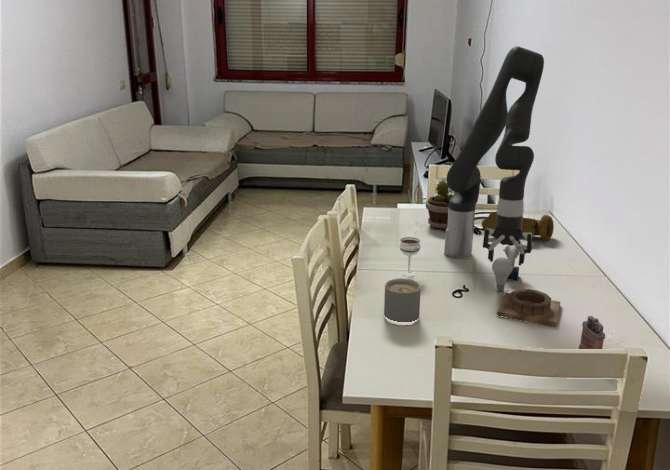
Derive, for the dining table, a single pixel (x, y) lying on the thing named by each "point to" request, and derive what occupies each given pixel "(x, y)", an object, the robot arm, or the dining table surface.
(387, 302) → the coffee mug
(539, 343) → the dining table surface
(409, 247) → the wineglass
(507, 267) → the lightbulb
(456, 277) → the dining table surface
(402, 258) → the dining table surface
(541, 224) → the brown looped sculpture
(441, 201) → the flowerpot
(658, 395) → the dining table surface
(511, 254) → the watch
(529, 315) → the lamp socket
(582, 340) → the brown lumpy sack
